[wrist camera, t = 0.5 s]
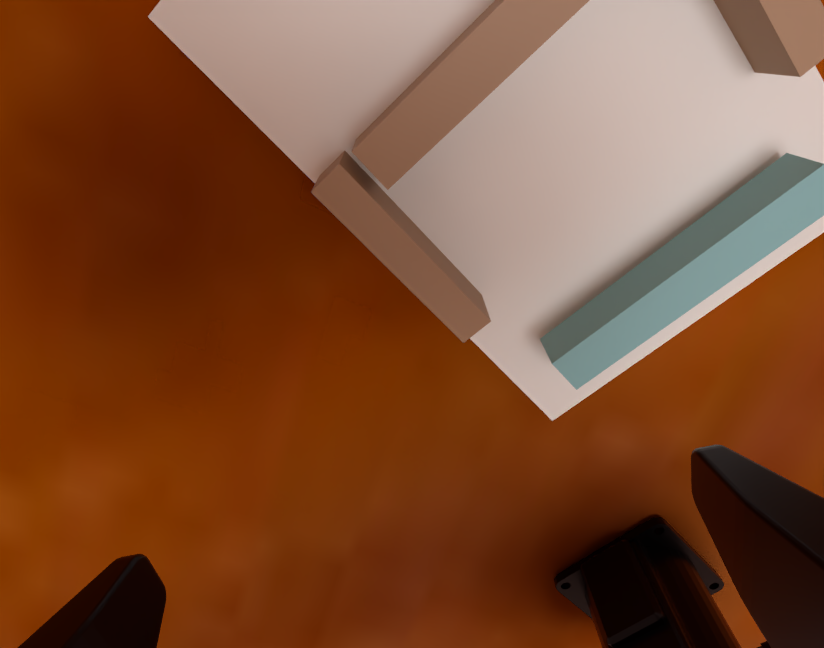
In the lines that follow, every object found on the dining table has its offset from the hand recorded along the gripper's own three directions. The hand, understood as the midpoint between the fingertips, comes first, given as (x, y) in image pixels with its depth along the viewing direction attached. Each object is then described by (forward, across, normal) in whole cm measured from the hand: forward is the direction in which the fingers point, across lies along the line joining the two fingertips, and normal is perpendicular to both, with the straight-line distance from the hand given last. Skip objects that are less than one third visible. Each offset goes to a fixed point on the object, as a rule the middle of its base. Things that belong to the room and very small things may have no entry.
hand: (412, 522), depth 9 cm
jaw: (+12, -9, +2) cm, 15 cm away
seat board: (+13, -6, -4) cm, 15 cm away
